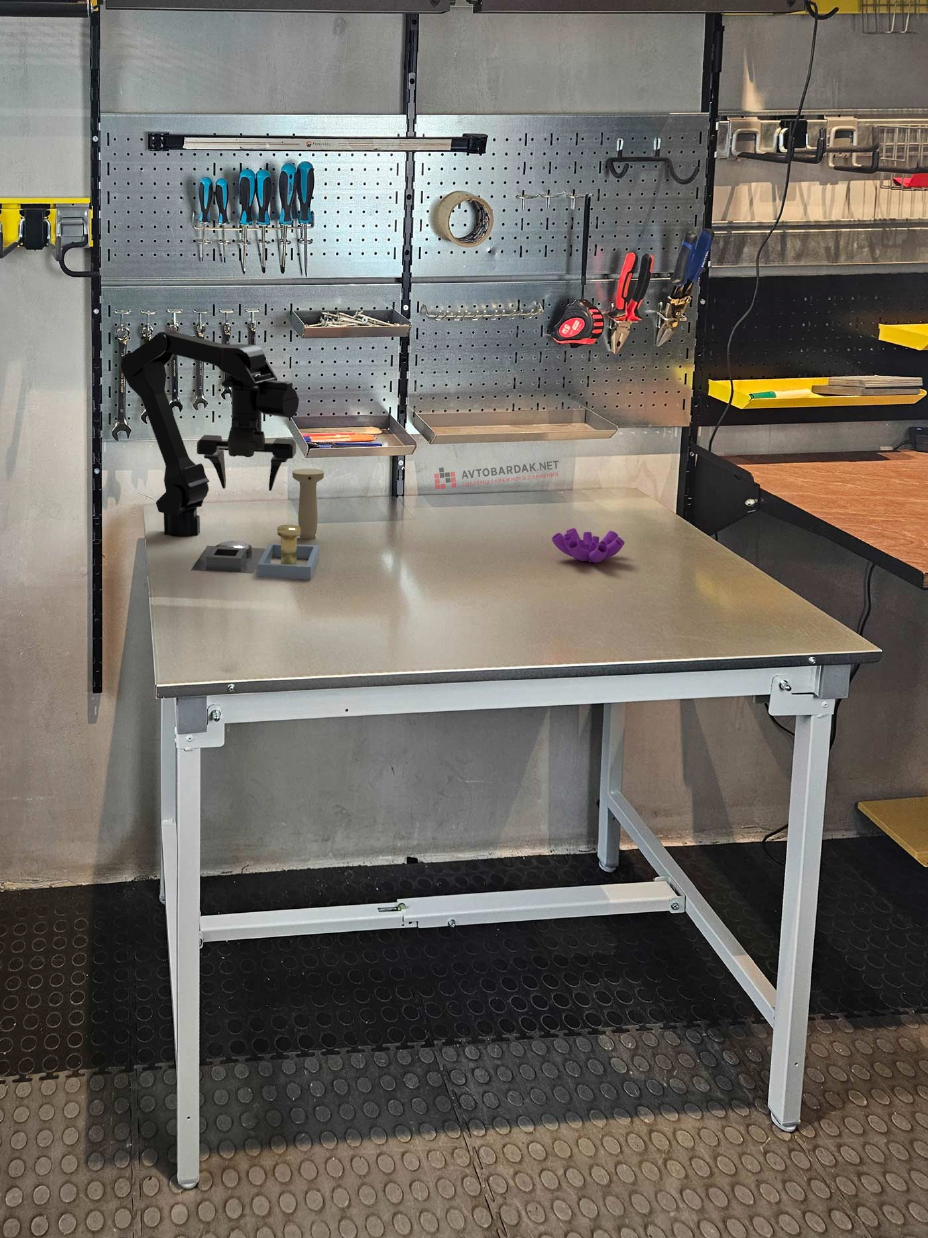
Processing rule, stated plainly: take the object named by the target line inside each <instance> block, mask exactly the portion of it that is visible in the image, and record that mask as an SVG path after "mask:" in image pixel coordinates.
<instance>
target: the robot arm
mask: <svg viewBox="0 0 928 1238" xmlns="http://www.w3.org/2000/svg"><path fill="white" fill-rule="evenodd" d="M175 355H176V356H179V357H184V358H185V359H191V360H195V361H199V362H202V363H206V364H210V365H213V366H215V367H217V368H218V369H219V370H220V371H221V372H223V373H224V374H227V375H228V376H227V378H225V380H223V381H221V386H222V387H224V388H226V387H227V388H230V389H231V426H230V429H229V432H228V437H227V440H223V438H222V435H217V434H216V435H211V434H203V436H201V438H199V439H198V441H197V443H196V454H197V455H203V457H204V459H205V460H206V459H208V460H209V461H210V462H211V464H212V465H213V468H214V469H215V472H216V473H217V477H218V480H219V482H220V485H221V487H222V489H224V490H225V489H226V485H227V477H226V464H225V462H226V461H225V452H224V451H227V452H228V455H229V457H245V458H251V457H253V456H254V454H255V452H257V453H270V454H271V455H273V456H272V457H271V459H270V471H269V481H268V490H269V491H270V492H272V490H273V487H274V484H275V480H276V478H277V475H278V472H279V470H280V468H281V465H282V463H286V462H287V461H288V459H294V456H295V455H296V453H297V442H296V441H295V440H294V438H280V437H279V438H277V437H276V438H275V439H274V441H273V442H266V436H265V432H264V431H263V430H262V414H263V415H267V416H273V417H274V416H275V417H281V418H287V419H291V418H293V417H294V416H295V415H296V413H297V411H298V409H299V404H300V403H299V402H300V398H299V397H298V393H297V391H296V389H295V388H293V382H292V381H288V380H287V381H286V380H285V381H281V380H278V376H276V374H275V372H274V370H273V369H272V367H271V365H270V363H269V362H268V359H267V357H266V354H265V353H264V351H263V348H262V347H261V346H259V345H257V344H245V343H244V344H241V343H239V344H238V343H237V344H226V343H225V344H224V343H221V342H217V341H212V340H209V339H205V338H201V337H196V336H192V335H188V334H185V333H180V332H178V331H177V330H172V329H171V330H165V331H160V332H157V333H156V334H155V335H154V336H153V337H152V338H150V339H149V340H148V341H146V342H145V343H143V344H142V345H140V346H139V347H137V348H136V349H134V350H133V351H131V352H127V353H126V354H124V355H123V357H122V359H121V362H120V364H119V365H120V371H121V373H122V375H123V377H124V379H125V381H126V383H127V385H128V387H129V388H130V389H131V390H133V391H134V392H135V394H136V395H138V397H139V398H141V401H142V404H143V407H144V410H145V413H146V415H147V418H148V421H149V424H150V426H151V429H152V432H153V434H154V438H155V440H156V443H157V445H158V448H159V451H160V454H161V456H162V457H161V458H162V459H163V461H164V465H165V469H164V470H165V471H164V478H163V482H164V487H165V492H164V493H163V494H162V495H161V496H160V497H159V498H158V499H157V500H156V501H155V504H156V507H157V511H158V512H159V513H160V514H161V513H163V535H166V536H170V537H173V538H174V537H175V538H184V537H185V538H186V537H197V536H199V535H200V533H201V516H200V515H199V514H198V508H201V507H202V506H203V503H204V500H205V499H206V497H207V496H208V493H209V490H210V489H209V488H210V487H209V483H210V480H209V477H207V475H206V472H205V466H204V465H203V463H195V462H194V461H193V460H192V459H191V458H190V456H189V454H188V451H187V449H186V446H185V443H184V439H183V437H182V435H181V432H180V429H179V427H178V424H177V421H176V417H175V416H174V413H173V410H172V407H171V404H170V402H169V398H168V396H167V393H166V381H167V371H166V365H167V364H168V363H169V362H170V361H172V360H173V358H174V356H175Z"/></svg>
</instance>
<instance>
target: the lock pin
mask: <svg viewBox="0 0 928 1238" xmlns="http://www.w3.org/2000/svg"><path fill="white" fill-rule="evenodd" d="M276 530H277V532H276V535H277V536H279V537H280V544H281V557H280V564H291V565H298V561H297V560H298V558H297V545H298V544H297V543H298V541H297V540H298V537H300V535H301V534H300V531H301V528H300V527H299V525H297V524H282V525H278V526H277V528H276Z"/></svg>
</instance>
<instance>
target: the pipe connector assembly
mask: <svg viewBox="0 0 928 1238" xmlns="http://www.w3.org/2000/svg"><path fill="white" fill-rule="evenodd" d="M551 542H552V543H553V545H554V546H555V547H556V548H557V549H558V550H559V551H561V552H562V553H563V554H564V555H567V556H569V557H571V558H574V559H575V560H578V561H580V562H581V561H582V562H584V561H590V562H589V563H591V562H594V564H595V563H601V562H602V561H603V560H606V559H609V558H611V557H613V556H616V554H617V553H619V552H620V551H621V549H622V548H623V547H624V546H625V544H626V543H625V540H623V538H621V537H619V534H618V533H617V532H615V531H613V530H609V531H608V532H607V533H606V534H605V535H604V537H603V538H602V539H601V541H600V536H597V535H592V532H591V531H584V532H583V535H582V538H581V537H580V534H579V533H578V531H577V529H576V527H573V528H569V529H567V530H566V532H565V533H564V534H562V533H561V532H557V533H555V534H554V535H552V537H551Z"/></svg>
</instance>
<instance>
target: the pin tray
mask: <svg viewBox="0 0 928 1238" xmlns="http://www.w3.org/2000/svg"><path fill="white" fill-rule="evenodd" d="M273 558H281V543H275V542H272V543H271V542H268V543H267V546H266V547H265V551H264V553H263V555H262V557H261V559H260V561H259V563H258V564H257V569H256V571H257V578H270V579H271V578H275V579H276V578H277V579H290V580H291V579H295V580H311V579H312V577H313V575H314V572H315V569H316V567H317V565H318V561H319V558H320V545H317V544H316V545H315V544H313V545H312V544H297V559H308V560H307V561H306V564H297V565H291V564H281V563H271V562H272V559H273Z"/></svg>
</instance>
